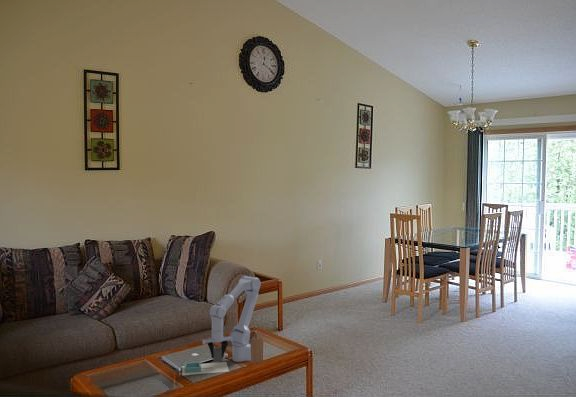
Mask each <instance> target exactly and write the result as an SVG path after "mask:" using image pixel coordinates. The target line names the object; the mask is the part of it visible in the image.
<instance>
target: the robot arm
mask: <svg viewBox="0 0 576 397" xmlns="http://www.w3.org/2000/svg"><path fill="white" fill-rule="evenodd" d="M261 285H262V283H261V280H260V278H258V277H256V276H255V277H254V276H248V275H243V276H242V277H241V278H240V279H238V283H237V285H236V286H234V288H233V289H232V291H231V292H230V293H229V294H224V295H223V296H222V298H221V299H220V300H218V302H217V303H216V304H214V305H212V306H210V309H209V311H208V313H209V315H210V319H211V337H208V338H205V339H204V338H203V339H202V345H207V346H208V348H209V350H210V355H211V359H213V358H214V348H215V346H214V344H216V343H220V344H221V345H220V347H221V348H222V358H224V355H225V353H226V349H227V347H228V345H229V343H228V342H231V345H232V361H233V362H235V363H236V362H237V363H238V362H239V363H240V362H248V361H252V352H251V351H252V349H251V348H252V347H251V343H249V342H250V337H251V333H252V332H251V330H250V328H249V325H250V322H251V319H252V315H253V313H254V310H255V306H256V303H257V300H258V297H259V291H260V289H261ZM243 292H245V293H246V295H247V296H246V298H245V302H244V304H243V305H244V306H243V309H242V311H241V313H240V316H239V319H238V323H237V324H236V325H235V326H233V328H232V330H231V332H230V333H229V335H228V336H224V317H225V316H226V314H227V312H228V310H229V308H230V307H231V306H232V305H233V304H234V302H235V299H236V298H237V297H238V296H239V295H240V294H241V293H243Z"/></svg>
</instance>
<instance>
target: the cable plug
mask: <svg viewBox="0 0 576 397" xmlns="http://www.w3.org/2000/svg"><path fill="white" fill-rule="evenodd" d="M212 359H213V363H217V362H223V357H222V347H221V346H220V347H219V346H216V347H214V358H212Z"/></svg>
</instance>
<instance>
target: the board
mask: <svg viewBox="0 0 576 397" xmlns="http://www.w3.org/2000/svg"><path fill="white" fill-rule="evenodd" d="M184 365H185V366H181V370H182V371H181V372H182V373H181V374H182V375H181V376H190V375H192V376H193V375H202V374H204V375H205V374H215V373H226V372H227V373H228V372H229V373H230V370H229V366H228V363H227V361H219V362H209V363H208V362H207V363H201V362H200V361H195V362H184Z"/></svg>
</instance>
